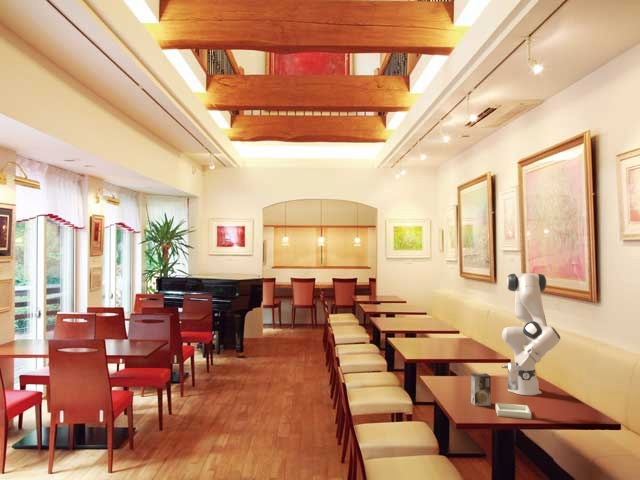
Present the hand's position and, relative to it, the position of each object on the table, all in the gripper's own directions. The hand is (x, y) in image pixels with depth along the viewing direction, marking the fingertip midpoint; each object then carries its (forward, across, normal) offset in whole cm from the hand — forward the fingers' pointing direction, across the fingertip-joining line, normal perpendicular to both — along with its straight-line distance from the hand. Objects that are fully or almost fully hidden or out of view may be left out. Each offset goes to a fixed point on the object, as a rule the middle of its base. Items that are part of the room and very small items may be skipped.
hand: (512, 370), depth 262 cm
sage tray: (+16, 0, +16) cm, 22 cm away
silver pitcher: (+8, 0, +6) cm, 9 cm away
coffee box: (+26, -13, +5) cm, 30 cm away
